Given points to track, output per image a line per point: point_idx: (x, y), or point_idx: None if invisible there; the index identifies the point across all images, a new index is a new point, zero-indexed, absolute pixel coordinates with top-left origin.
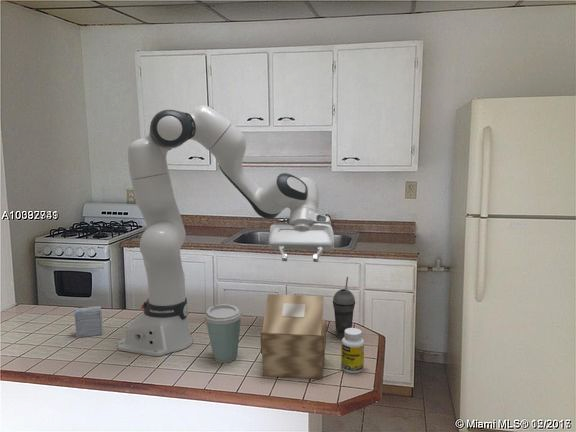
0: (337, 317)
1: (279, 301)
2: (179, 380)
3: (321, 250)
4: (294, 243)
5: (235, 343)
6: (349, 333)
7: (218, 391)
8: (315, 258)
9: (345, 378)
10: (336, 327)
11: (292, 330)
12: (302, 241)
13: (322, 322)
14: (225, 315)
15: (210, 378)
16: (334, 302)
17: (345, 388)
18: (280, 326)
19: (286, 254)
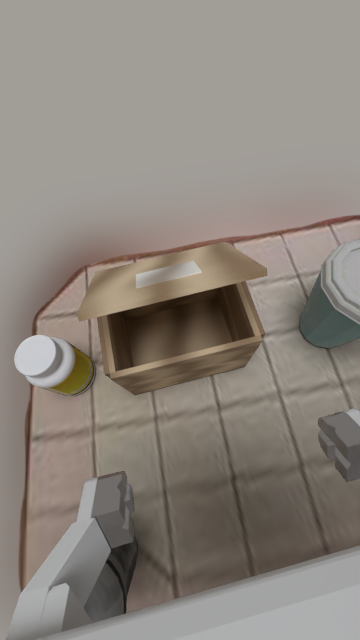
0: (115, 547)
1: (216, 271)
2: (333, 239)
3: (32, 579)
4: (356, 553)
5: (307, 308)
6: (42, 337)
7: (257, 235)
8: (104, 478)
9: (83, 336)
10: (129, 543)
11: (159, 258)
12: (268, 632)
13: (112, 355)
14: (357, 264)
15: (293, 259)
16: (112, 571)
17: (79, 306)
18: (189, 254)
19: (346, 441)
